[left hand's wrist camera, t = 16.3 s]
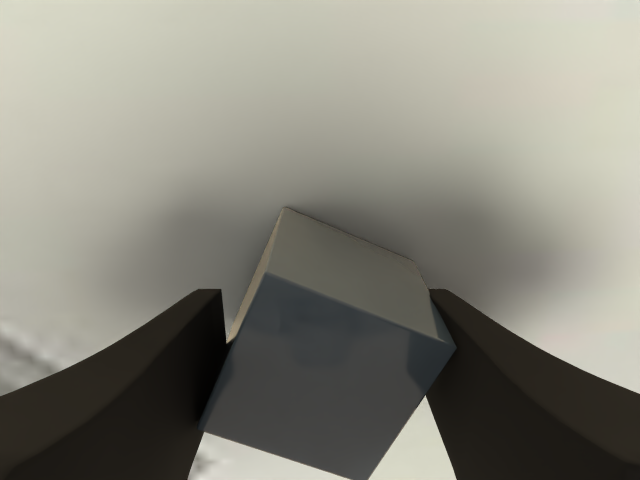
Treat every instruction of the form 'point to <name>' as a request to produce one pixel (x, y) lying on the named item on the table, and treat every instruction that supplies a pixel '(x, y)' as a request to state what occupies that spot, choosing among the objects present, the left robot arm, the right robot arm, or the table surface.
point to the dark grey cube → (327, 351)
